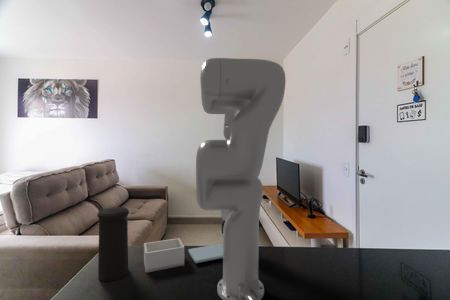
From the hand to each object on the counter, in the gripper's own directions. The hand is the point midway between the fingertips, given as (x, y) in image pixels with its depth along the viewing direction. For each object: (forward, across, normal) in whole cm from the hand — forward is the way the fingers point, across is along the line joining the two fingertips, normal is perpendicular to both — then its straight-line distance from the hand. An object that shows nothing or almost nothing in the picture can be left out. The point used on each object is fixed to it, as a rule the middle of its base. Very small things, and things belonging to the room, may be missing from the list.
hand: (230, 237), depth 86 cm
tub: (+5, +1, +24) cm, 25 cm away
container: (+5, 0, +39) cm, 39 cm away
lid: (+5, 0, +7) cm, 9 cm away
